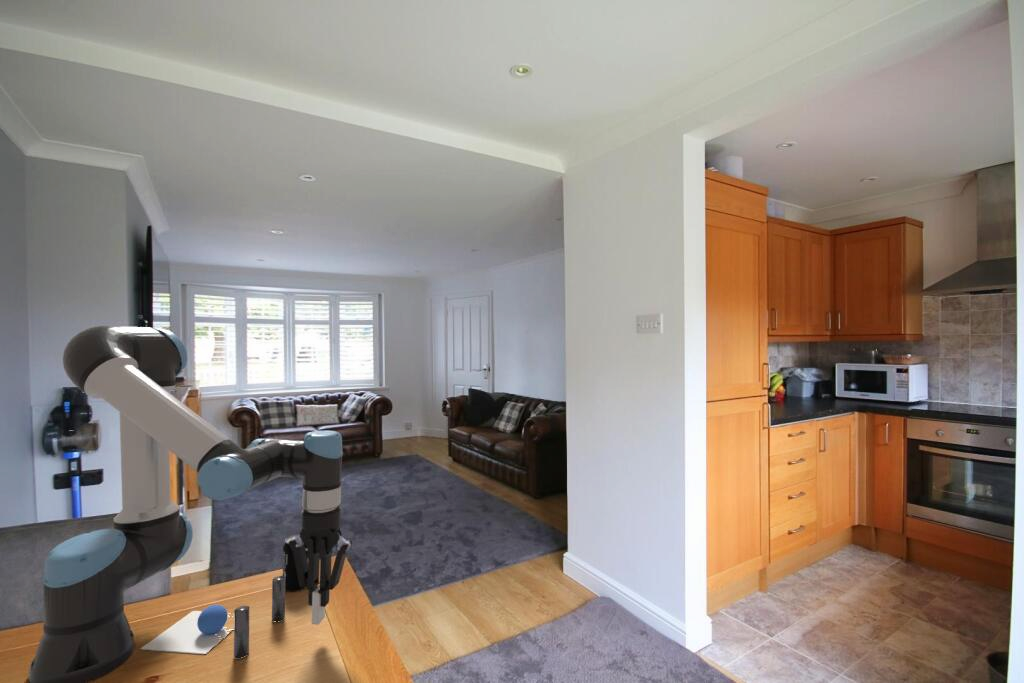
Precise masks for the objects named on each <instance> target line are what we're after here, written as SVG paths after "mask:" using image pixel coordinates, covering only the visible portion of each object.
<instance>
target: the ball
mask: <svg viewBox="0 0 1024 683" xmlns="http://www.w3.org/2000/svg"><path fill="white" fill-rule="evenodd" d="M227 613H228V611H227V609H226V607H225V606H223V605H220V604H212V605H209V606H207V607H205V608H204V609H203V610H202V613H201V614H200V615H199V618H198V622H197V625H198V629H199V630H200V631H201V632H202V633H204V634H214V633H216V632H218V631H220V630H221V629H222V628H223V627H224V625H225V624H226V622H227V618H228V614H227Z"/></svg>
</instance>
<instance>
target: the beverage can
mask: <svg viewBox="0 0 1024 683" xmlns="http://www.w3.org/2000/svg"><path fill="white" fill-rule="evenodd" d="M299 535H300V533H299V534H293V535H290V536H288V537H287V538H285V539H284V544H282V576H284V577H285V591H287V590H288V592H297V590H298V591H301V589H302V590H304V589H306V588H305V587H303V588H302V587H300V585H299V581H298V576H297V570H296V565H295V560H294V555H293V551H292V550H291V548H290V546H289V541H291V540H292V539H293V538H295V537H296V536H299ZM304 547H305V552H306V557H307V552H308V549H307V548H306V546H305V544H304ZM307 562H308V557H307Z"/></svg>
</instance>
